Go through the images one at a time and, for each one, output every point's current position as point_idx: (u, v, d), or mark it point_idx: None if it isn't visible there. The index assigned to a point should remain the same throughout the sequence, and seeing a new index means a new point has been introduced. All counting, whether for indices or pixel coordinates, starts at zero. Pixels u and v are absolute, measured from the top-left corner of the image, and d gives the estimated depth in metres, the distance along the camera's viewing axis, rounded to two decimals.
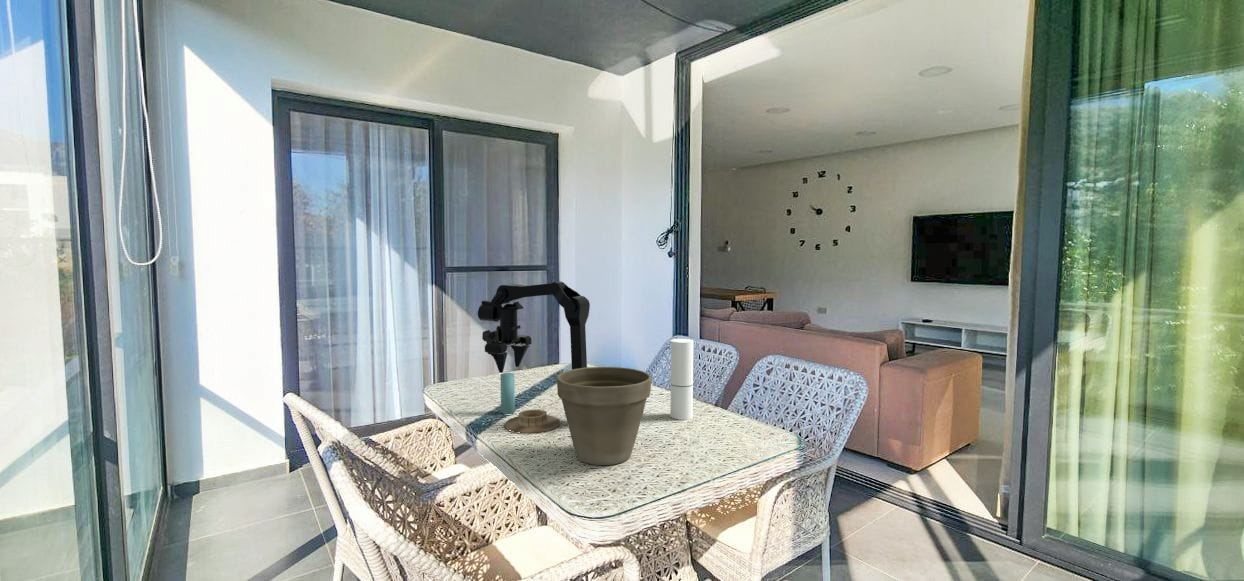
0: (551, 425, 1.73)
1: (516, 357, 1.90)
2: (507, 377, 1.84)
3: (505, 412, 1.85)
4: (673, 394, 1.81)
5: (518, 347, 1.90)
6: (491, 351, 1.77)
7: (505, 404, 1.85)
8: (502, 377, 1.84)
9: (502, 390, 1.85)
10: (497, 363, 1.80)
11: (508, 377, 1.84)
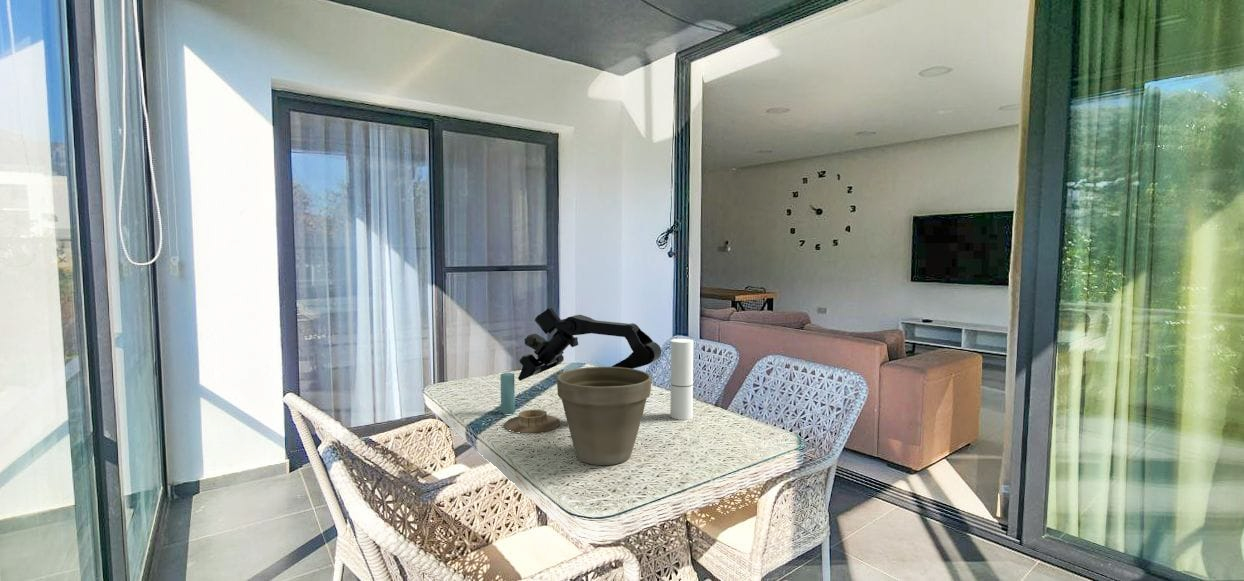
0: (551, 425, 1.73)
1: None
2: (507, 377, 1.84)
3: (505, 412, 1.85)
4: (673, 394, 1.81)
5: None
6: (525, 366, 1.72)
7: (505, 404, 1.85)
8: (502, 377, 1.84)
9: (502, 390, 1.85)
10: (522, 372, 1.77)
11: (508, 377, 1.84)
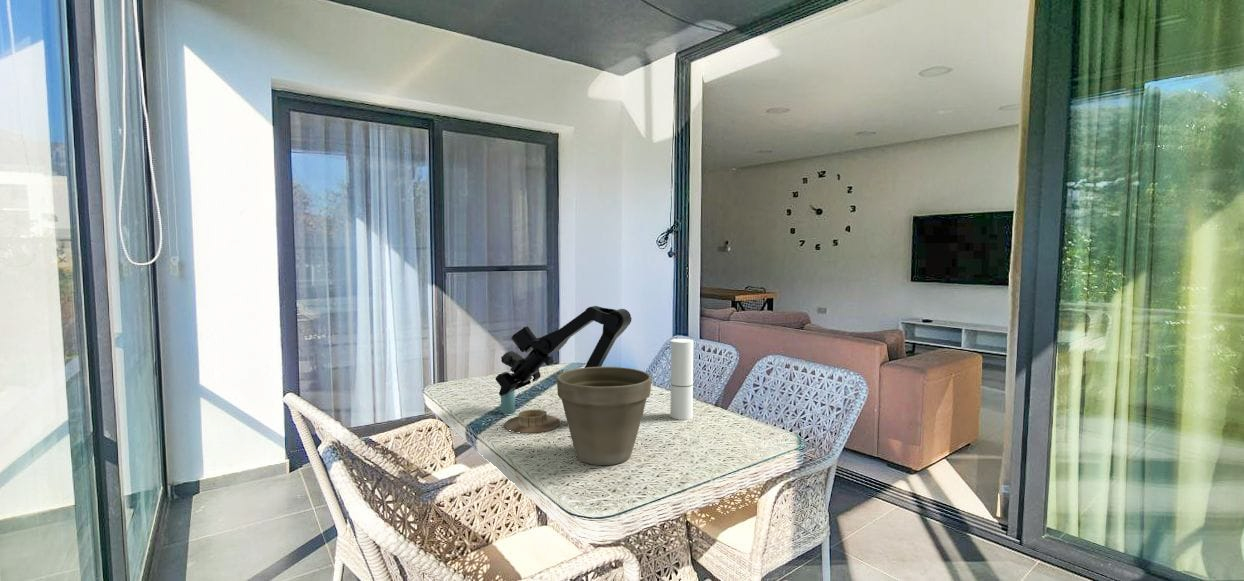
0: (551, 425, 1.73)
1: None
2: None
3: (505, 412, 1.85)
4: (673, 394, 1.81)
5: None
6: (500, 384, 1.76)
7: (505, 404, 1.85)
8: None
9: None
10: None
11: None
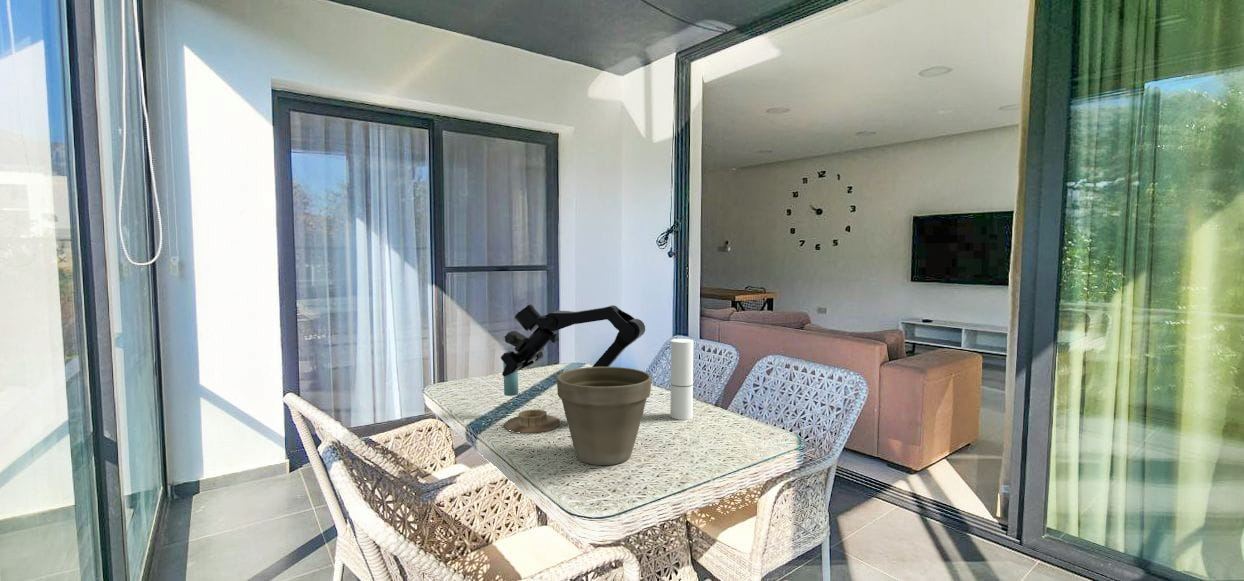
0: (551, 425, 1.73)
1: None
2: None
3: (509, 393, 1.81)
4: (673, 394, 1.81)
5: None
6: (506, 363, 1.72)
7: (509, 385, 1.81)
8: None
9: None
10: (506, 368, 1.79)
11: None
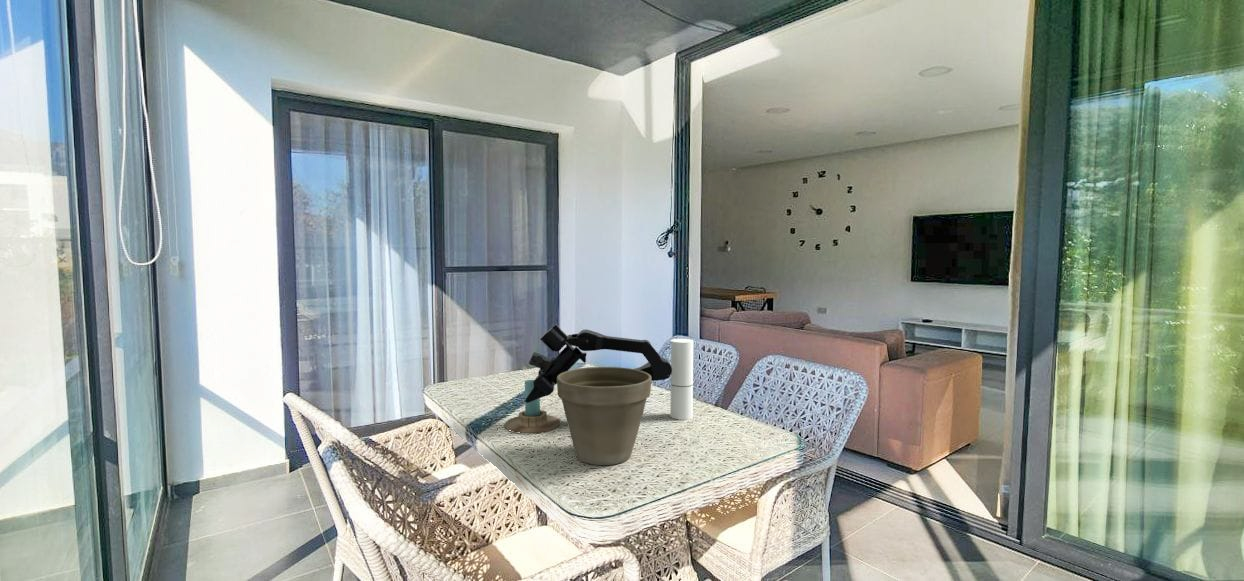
0: (551, 425, 1.73)
1: None
2: None
3: None
4: (673, 394, 1.81)
5: None
6: (542, 387, 1.65)
7: (534, 413, 1.73)
8: (529, 385, 1.72)
9: None
10: (532, 394, 1.69)
11: None
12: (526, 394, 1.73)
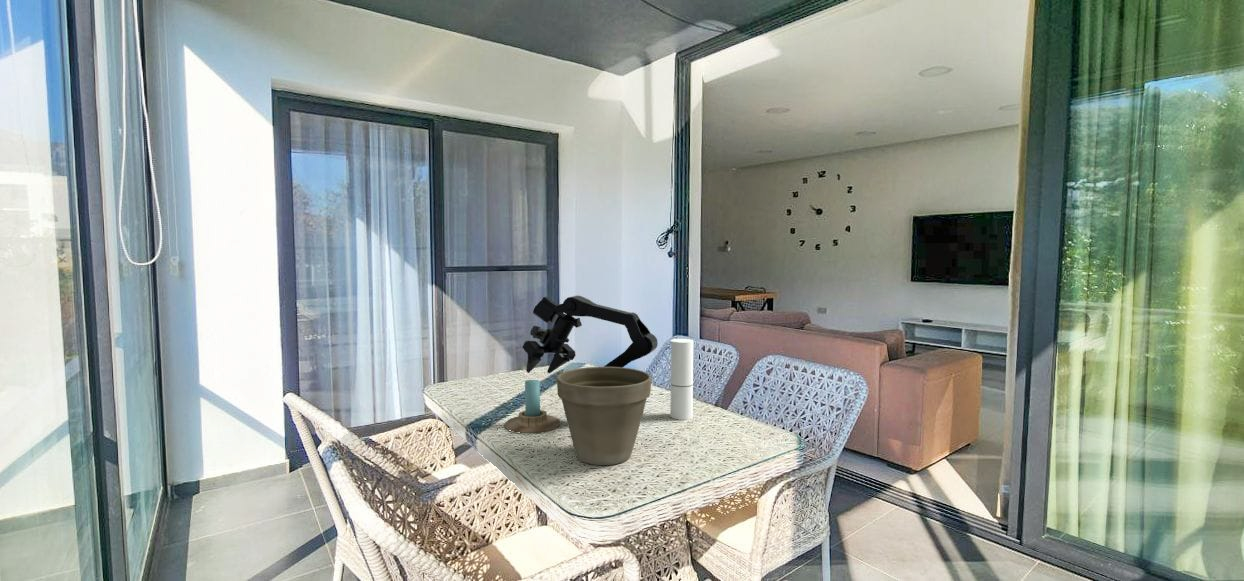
0: (551, 425, 1.73)
1: (552, 364, 1.83)
2: (535, 384, 1.72)
3: None
4: (673, 394, 1.81)
5: (559, 356, 1.82)
6: (526, 350, 1.71)
7: (534, 413, 1.73)
8: (530, 385, 1.72)
9: (529, 399, 1.72)
10: (528, 362, 1.75)
11: (536, 384, 1.73)
12: (526, 394, 1.73)
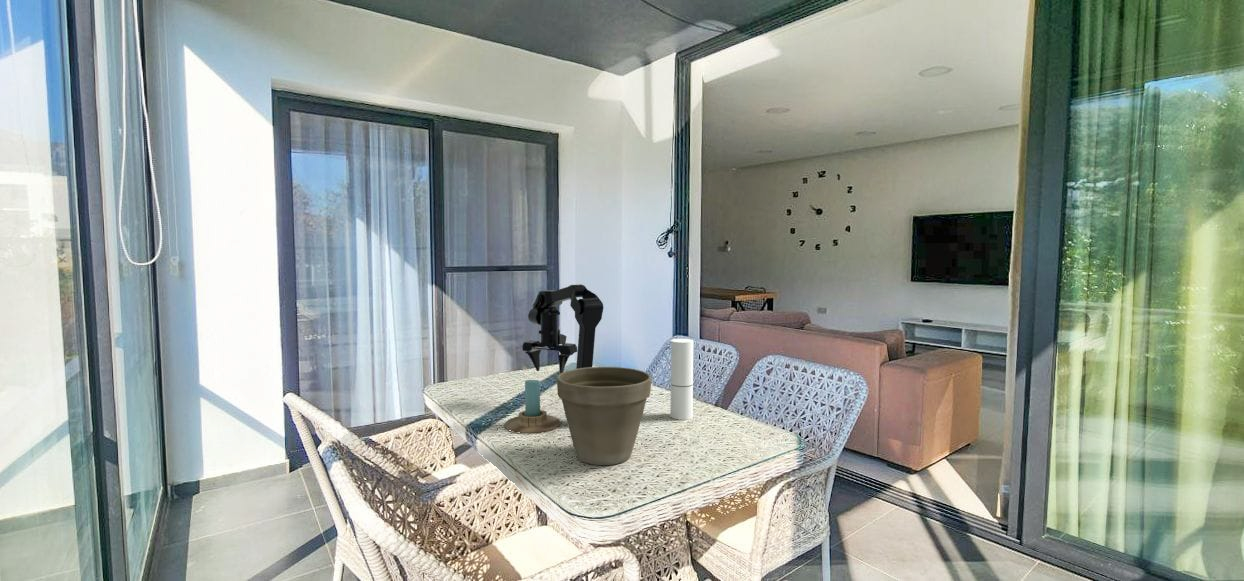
0: (551, 425, 1.73)
1: None
2: (535, 384, 1.72)
3: None
4: (673, 394, 1.81)
5: None
6: None
7: (534, 413, 1.73)
8: (530, 385, 1.72)
9: (529, 399, 1.72)
10: None
11: (536, 384, 1.73)
12: (526, 394, 1.73)
